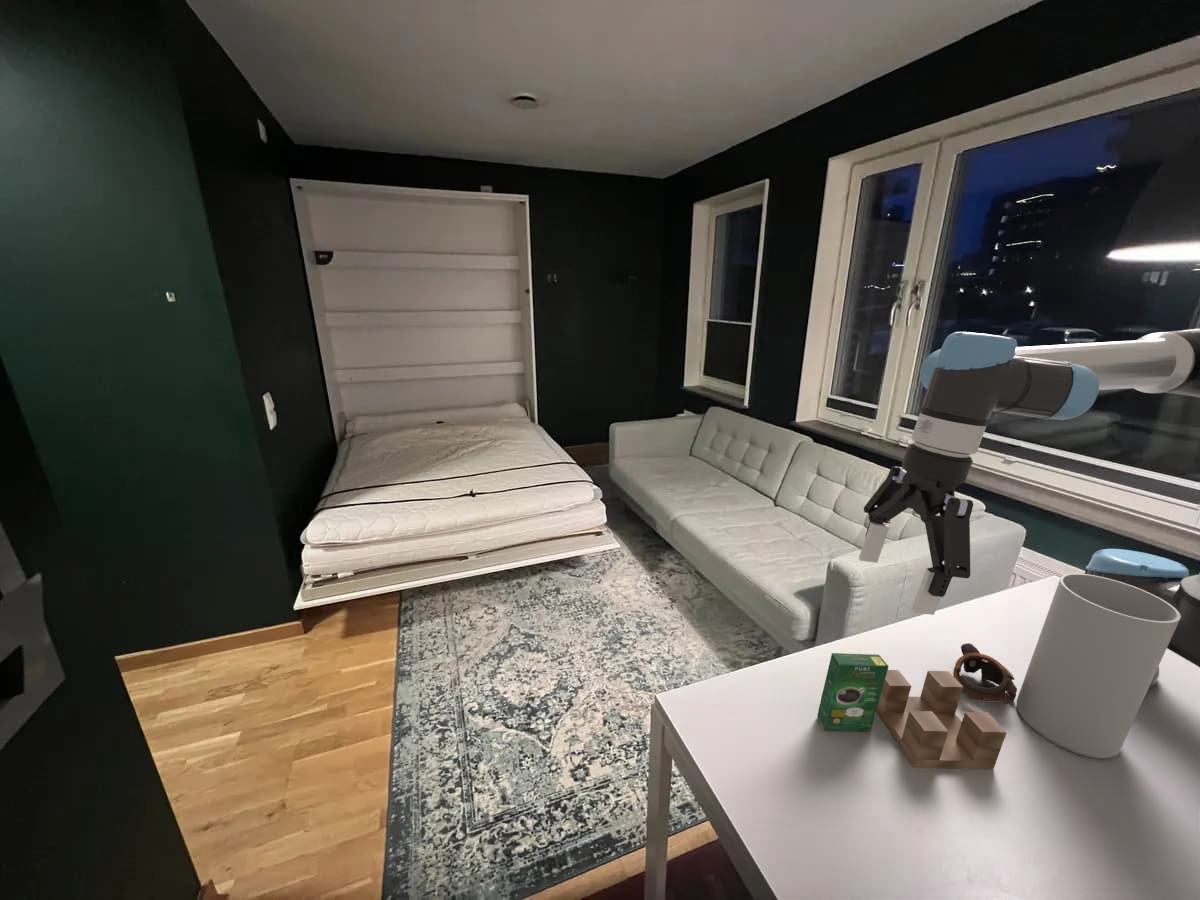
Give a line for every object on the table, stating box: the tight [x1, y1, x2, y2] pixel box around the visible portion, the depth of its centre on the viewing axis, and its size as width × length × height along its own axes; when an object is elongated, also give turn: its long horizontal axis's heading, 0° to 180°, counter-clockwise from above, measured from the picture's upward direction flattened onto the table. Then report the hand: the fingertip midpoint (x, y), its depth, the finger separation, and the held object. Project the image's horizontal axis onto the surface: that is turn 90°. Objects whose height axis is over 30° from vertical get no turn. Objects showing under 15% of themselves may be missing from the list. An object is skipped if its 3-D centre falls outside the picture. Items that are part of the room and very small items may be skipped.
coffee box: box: [816, 652, 889, 732], centre depth 76 cm, size 8×3×13 cm, turn 90°
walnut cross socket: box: [876, 669, 1007, 770], centre depth 75 cm, size 12×12×7 cm
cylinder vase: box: [1016, 572, 1181, 759], centre depth 75 cm, size 12×12×25 cm
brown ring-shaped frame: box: [952, 642, 1018, 704], centre depth 85 cm, size 12×10×8 cm
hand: (892, 584), depth 71 cm, fingers open, 13 cm apart
